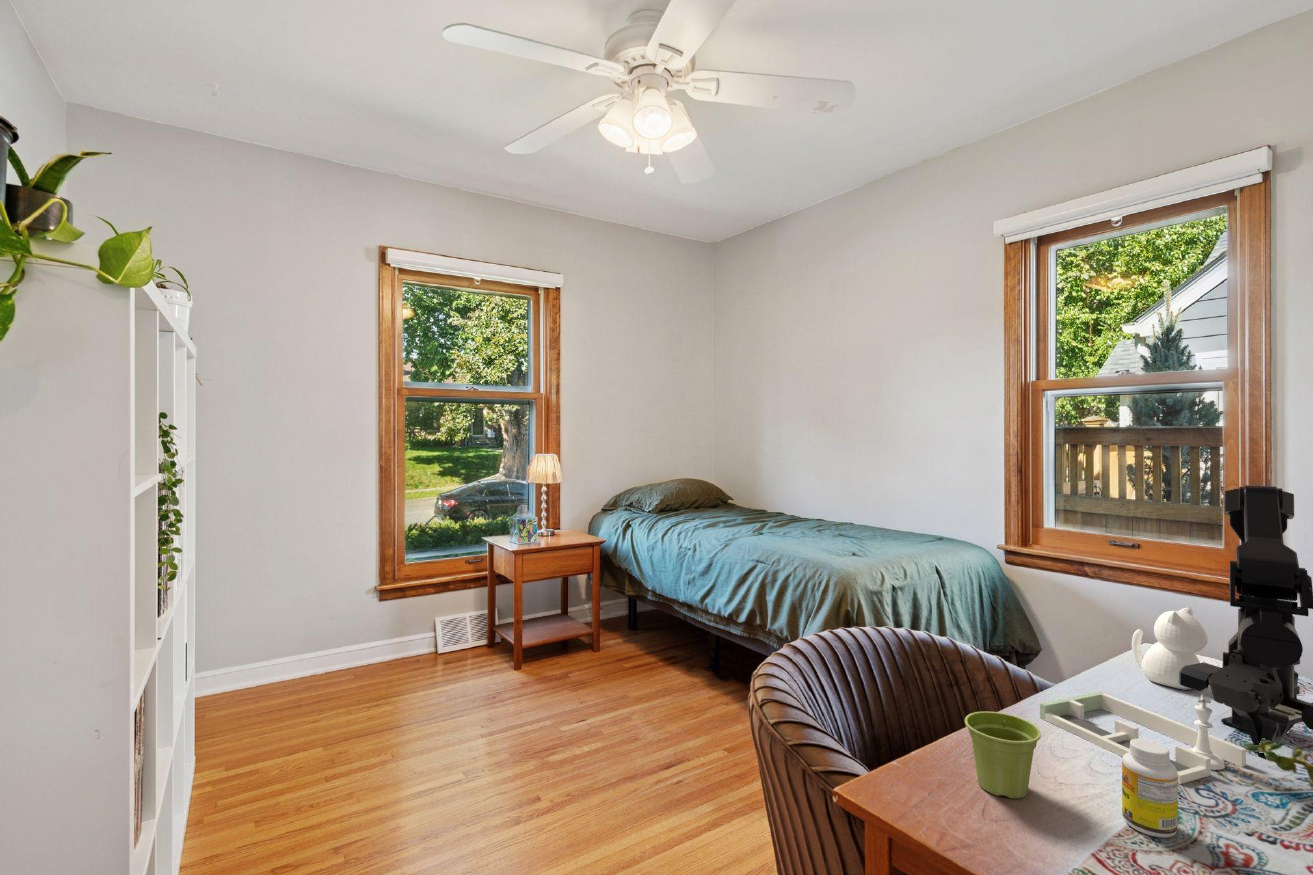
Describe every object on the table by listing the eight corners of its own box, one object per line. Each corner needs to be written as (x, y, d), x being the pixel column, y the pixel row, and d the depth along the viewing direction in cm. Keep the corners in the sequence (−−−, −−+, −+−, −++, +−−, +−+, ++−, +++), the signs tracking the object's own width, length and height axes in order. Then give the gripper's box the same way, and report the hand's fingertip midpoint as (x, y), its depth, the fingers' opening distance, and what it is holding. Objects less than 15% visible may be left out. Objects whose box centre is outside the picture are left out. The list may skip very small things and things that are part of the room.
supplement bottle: (1123, 807, 85) (1124, 730, 85) (1177, 824, 81) (1178, 743, 81) (1119, 827, 81) (1120, 746, 81) (1176, 846, 77) (1177, 761, 77)
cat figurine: (1193, 698, 119) (1195, 618, 118) (1118, 674, 130) (1120, 601, 129) (1216, 689, 123) (1218, 611, 123) (1141, 666, 134) (1143, 595, 134)
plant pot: (949, 777, 92) (949, 717, 92) (996, 763, 96) (996, 706, 96) (1008, 813, 84) (1008, 747, 84) (1056, 796, 88) (1057, 733, 87)
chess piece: (1233, 771, 94) (1233, 703, 94) (1194, 768, 95) (1194, 700, 95) (1211, 754, 99) (1211, 689, 98) (1174, 751, 100) (1174, 687, 99)
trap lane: (1099, 705, 116) (1100, 691, 116) (1246, 765, 95) (1246, 748, 95) (1040, 717, 111) (1040, 703, 111) (1180, 784, 90) (1180, 766, 90)
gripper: (1154, 632, 95) (1153, 737, 96) (1318, 679, 78) (1316, 806, 78) (1203, 624, 99) (1202, 725, 99) (1371, 667, 82) (1369, 789, 82)
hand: (1264, 757), depth 90 cm, fingers closed
